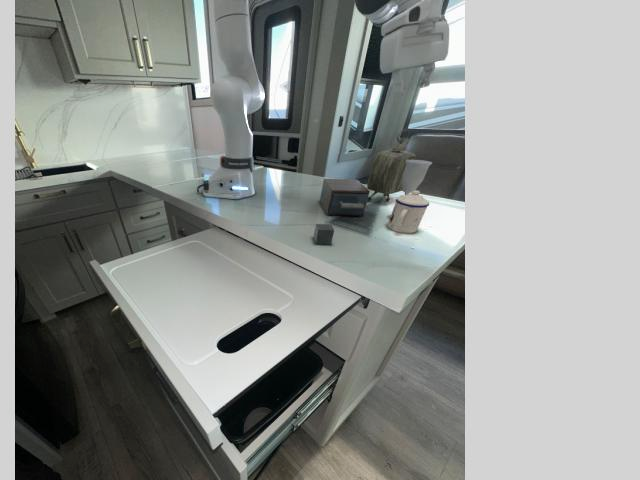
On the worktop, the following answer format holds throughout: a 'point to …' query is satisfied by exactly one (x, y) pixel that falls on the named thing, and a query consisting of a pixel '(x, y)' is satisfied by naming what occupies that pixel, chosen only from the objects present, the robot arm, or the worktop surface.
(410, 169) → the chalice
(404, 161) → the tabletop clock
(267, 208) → the worktop surface
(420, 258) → the worktop surface
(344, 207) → the drawer
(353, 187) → the cabinet
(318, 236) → the block
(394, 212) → the teacup with lid
